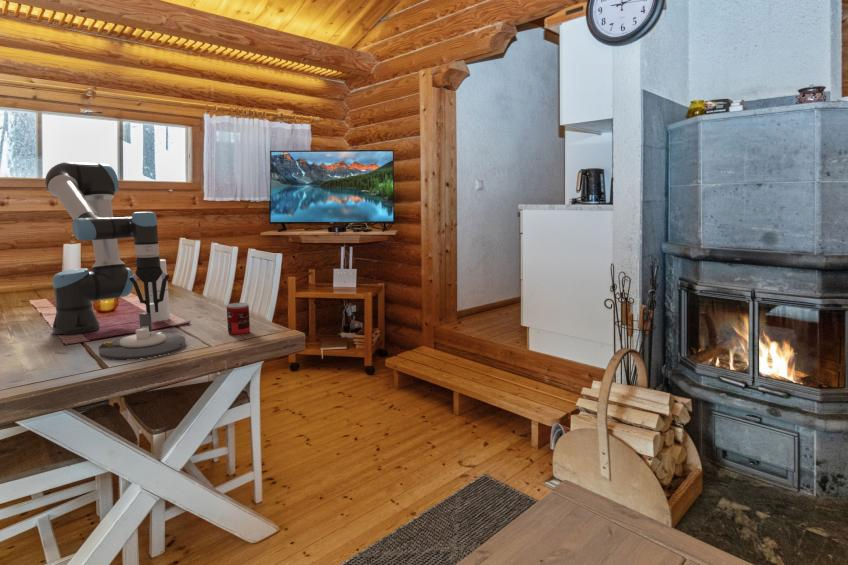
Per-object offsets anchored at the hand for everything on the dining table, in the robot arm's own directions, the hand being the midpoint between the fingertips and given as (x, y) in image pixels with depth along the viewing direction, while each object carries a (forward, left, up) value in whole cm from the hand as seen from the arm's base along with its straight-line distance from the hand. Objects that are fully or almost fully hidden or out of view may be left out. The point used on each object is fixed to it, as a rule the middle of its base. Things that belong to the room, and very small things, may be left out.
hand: (153, 321), depth 191 cm
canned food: (+27, +9, -7) cm, 30 cm away
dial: (0, -9, -5) cm, 10 cm away
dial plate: (+1, -11, -7) cm, 13 cm away
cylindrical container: (-13, +33, -7) cm, 36 cm away
